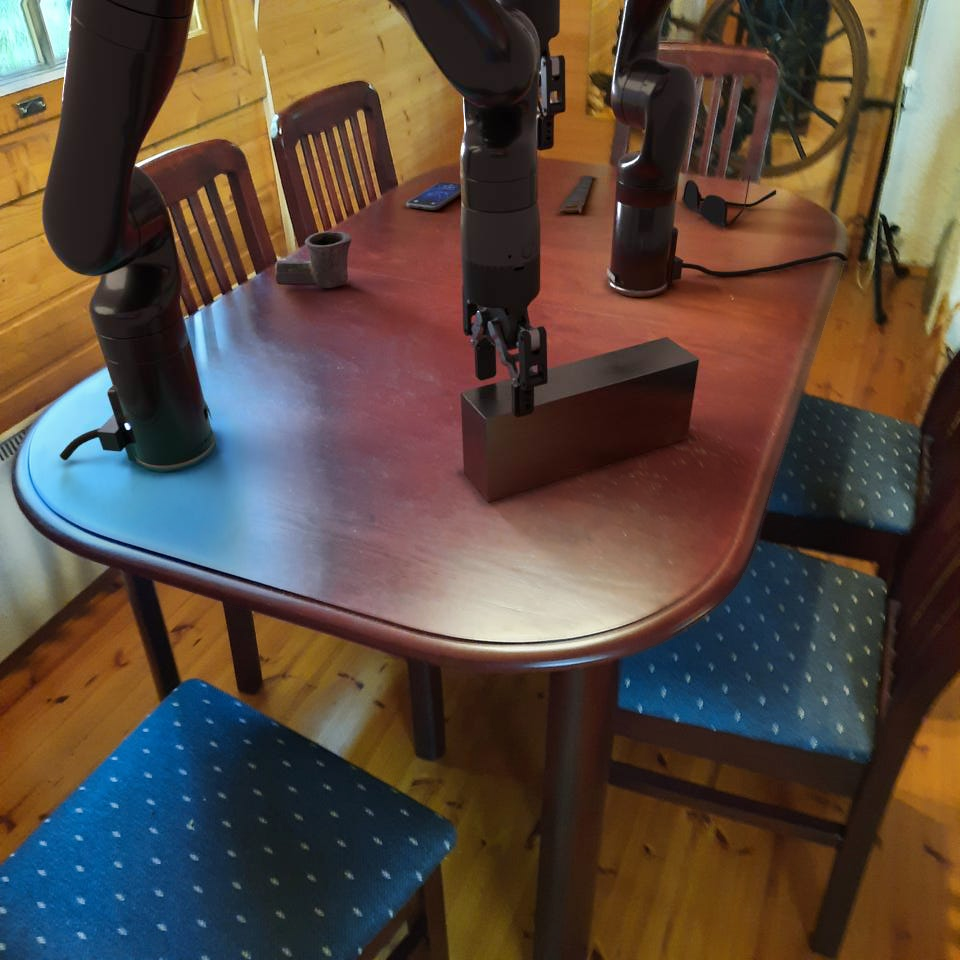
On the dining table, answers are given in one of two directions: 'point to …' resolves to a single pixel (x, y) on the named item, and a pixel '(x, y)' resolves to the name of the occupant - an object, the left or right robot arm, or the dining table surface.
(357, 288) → the dining table surface
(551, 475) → the box
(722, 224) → the sunglasses
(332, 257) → the pipe
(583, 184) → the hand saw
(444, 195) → the smartphone
